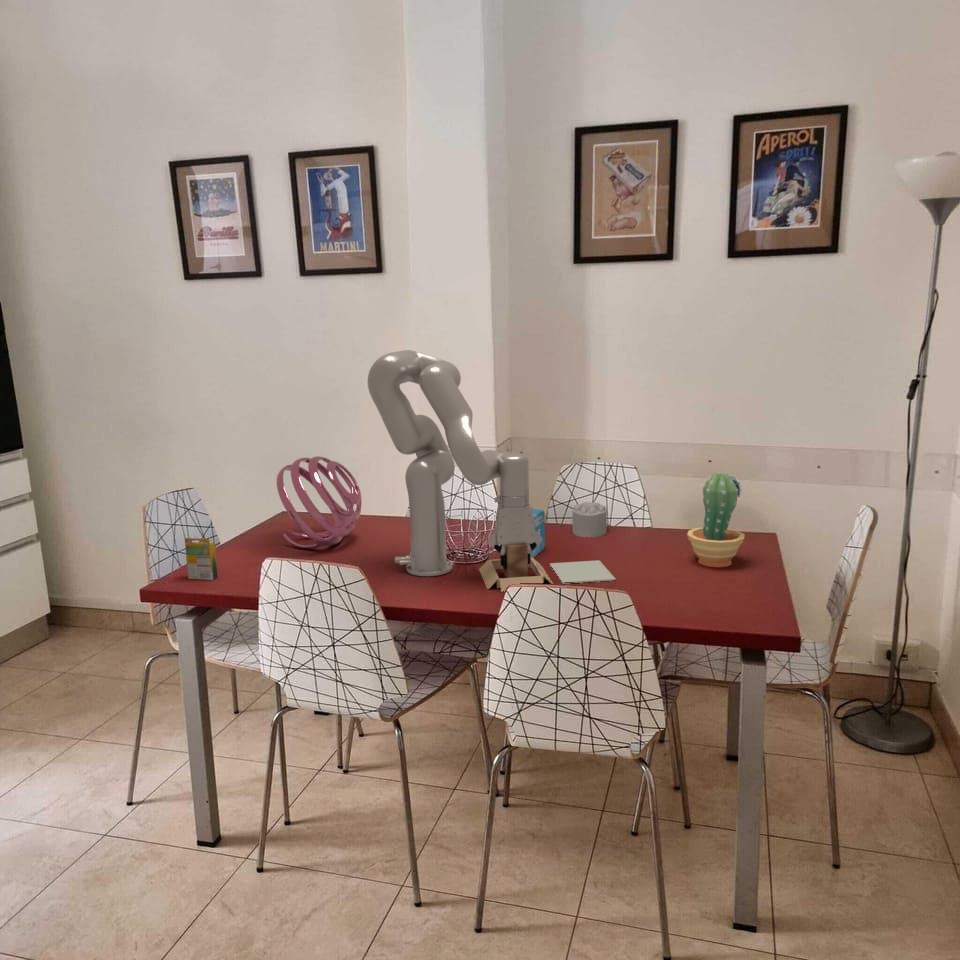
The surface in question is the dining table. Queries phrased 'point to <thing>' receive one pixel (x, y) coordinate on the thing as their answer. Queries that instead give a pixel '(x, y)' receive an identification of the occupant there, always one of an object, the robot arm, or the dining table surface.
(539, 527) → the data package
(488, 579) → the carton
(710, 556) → the potted cactus
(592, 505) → the lumpy-topped squat cylinder
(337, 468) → the spiral basket
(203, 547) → the crayon box
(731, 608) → the dining table surface
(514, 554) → the walnut box
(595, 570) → the plate
